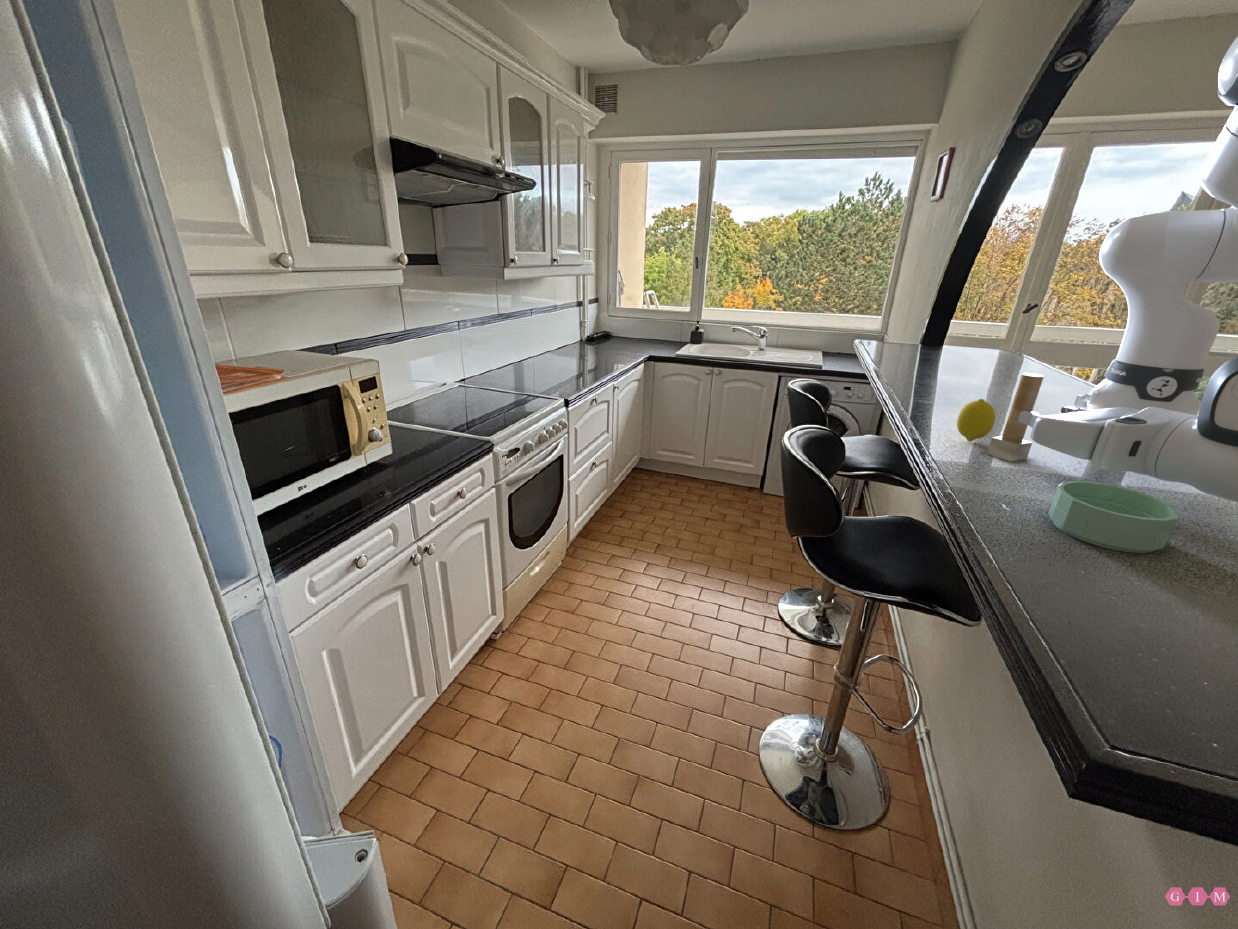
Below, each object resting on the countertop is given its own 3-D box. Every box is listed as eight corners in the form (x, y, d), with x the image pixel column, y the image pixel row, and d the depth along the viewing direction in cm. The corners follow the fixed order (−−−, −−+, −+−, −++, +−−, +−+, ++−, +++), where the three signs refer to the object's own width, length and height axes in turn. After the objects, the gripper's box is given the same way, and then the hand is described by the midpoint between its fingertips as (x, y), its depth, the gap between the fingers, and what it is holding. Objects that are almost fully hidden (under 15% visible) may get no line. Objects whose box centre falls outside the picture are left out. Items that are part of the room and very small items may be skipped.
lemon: (993, 447, 90) (1006, 404, 87) (959, 445, 91) (971, 401, 88) (979, 437, 95) (991, 396, 92) (947, 435, 96) (958, 394, 93)
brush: (1003, 451, 88) (1028, 371, 83) (1026, 459, 85) (1055, 376, 80) (986, 453, 87) (1011, 372, 82) (1010, 461, 84) (1037, 378, 78)
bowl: (1040, 505, 68) (1051, 474, 67) (1145, 525, 64) (1160, 492, 62) (1056, 539, 60) (1069, 505, 58) (1178, 565, 55) (1197, 529, 53)
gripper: (1207, 412, 70) (1093, 389, 82) (1112, 425, 64) (1003, 398, 76) (1188, 455, 72) (1079, 426, 84) (1094, 471, 66) (991, 438, 78)
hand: (1042, 413), depth 80 cm, fingers open, 8 cm apart
